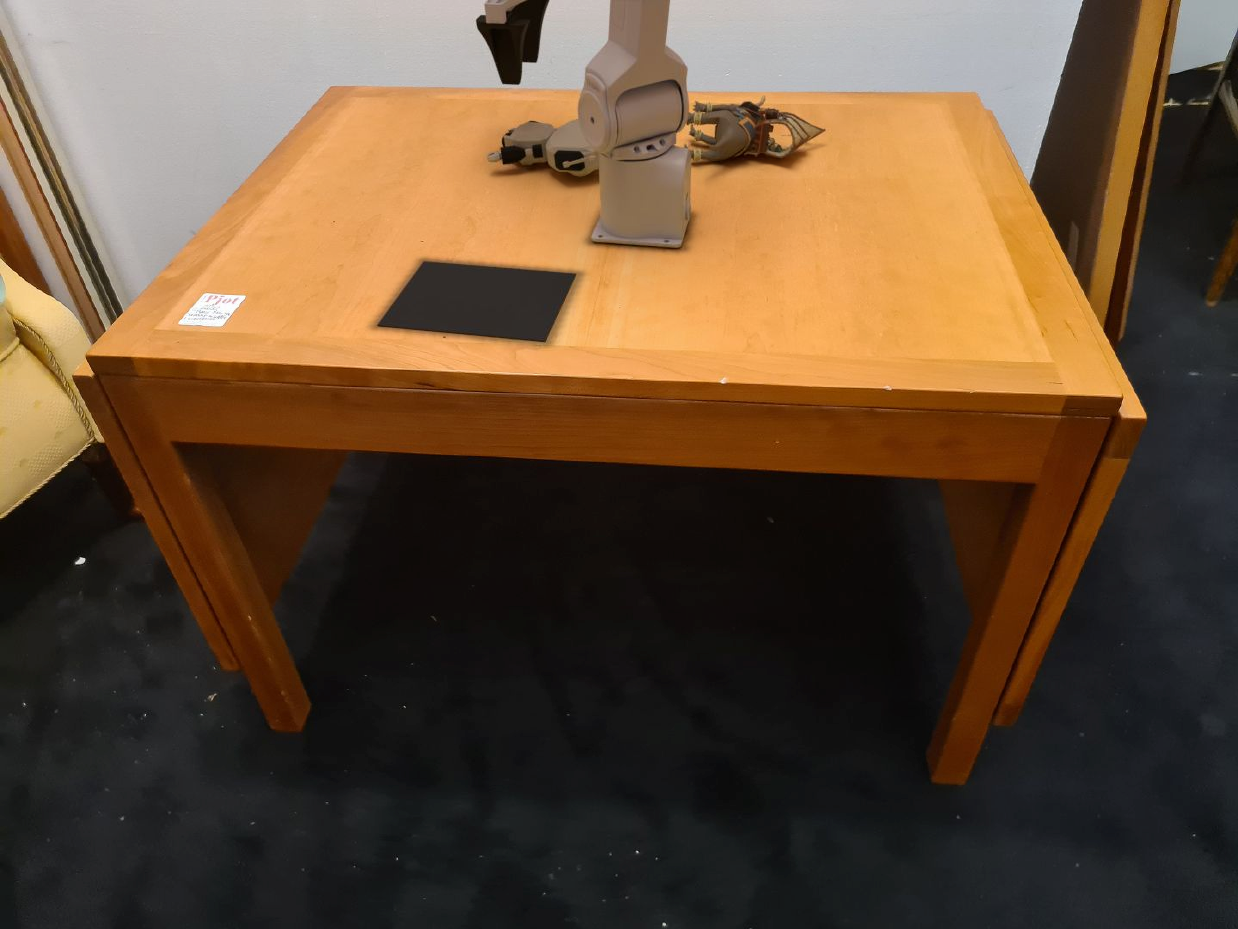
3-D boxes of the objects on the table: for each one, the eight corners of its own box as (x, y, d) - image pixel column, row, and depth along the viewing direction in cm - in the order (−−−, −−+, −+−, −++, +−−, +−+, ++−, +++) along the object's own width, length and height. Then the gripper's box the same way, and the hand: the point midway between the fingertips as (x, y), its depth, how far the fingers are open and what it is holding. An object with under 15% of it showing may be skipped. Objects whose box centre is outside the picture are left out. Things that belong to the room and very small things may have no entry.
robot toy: (485, 184, 104) (602, 190, 99) (477, 146, 101) (598, 151, 97) (525, 144, 113) (635, 148, 108) (519, 109, 110) (632, 111, 105)
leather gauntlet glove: (696, 77, 112) (828, 83, 110) (693, 125, 116) (821, 132, 114) (680, 126, 97) (833, 134, 95) (677, 179, 101) (825, 188, 99)
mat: (576, 274, 86) (576, 273, 86) (545, 341, 77) (545, 340, 77) (423, 261, 89) (423, 260, 89) (377, 325, 80) (377, 324, 80)
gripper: (491, -76, 99) (504, 51, 108) (450, -45, 88) (468, 92, 98) (551, -75, 98) (559, 53, 107) (517, -44, 87) (529, 95, 96)
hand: (520, 72), depth 102 cm, fingers open, 7 cm apart
